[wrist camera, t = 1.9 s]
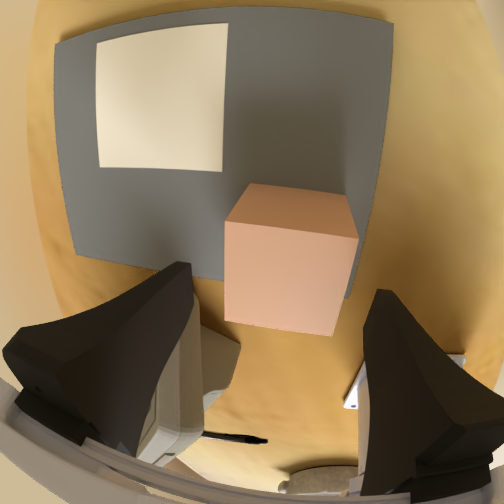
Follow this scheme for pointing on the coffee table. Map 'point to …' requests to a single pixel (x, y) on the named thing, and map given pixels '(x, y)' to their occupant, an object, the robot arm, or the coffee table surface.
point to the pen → (234, 438)
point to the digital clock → (187, 390)
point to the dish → (319, 481)
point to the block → (288, 258)
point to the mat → (214, 125)
